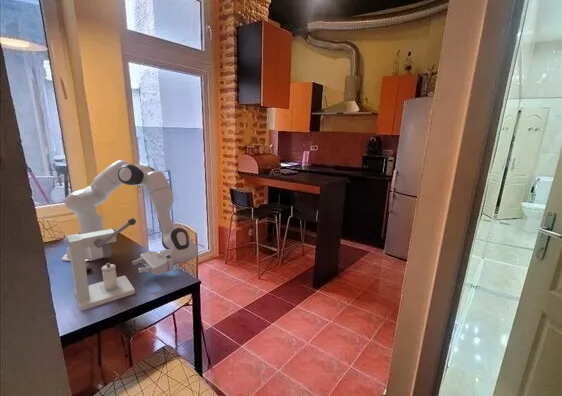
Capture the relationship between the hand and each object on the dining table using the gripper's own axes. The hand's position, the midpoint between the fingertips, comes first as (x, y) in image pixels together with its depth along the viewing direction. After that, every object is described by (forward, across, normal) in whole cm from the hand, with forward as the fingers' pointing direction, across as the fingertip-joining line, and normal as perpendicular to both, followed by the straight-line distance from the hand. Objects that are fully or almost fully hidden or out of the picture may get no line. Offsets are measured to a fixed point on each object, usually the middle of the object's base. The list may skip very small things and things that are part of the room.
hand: (135, 266), depth 132 cm
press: (+11, 0, +9) cm, 14 cm away
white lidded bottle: (+11, 0, +6) cm, 12 cm away
